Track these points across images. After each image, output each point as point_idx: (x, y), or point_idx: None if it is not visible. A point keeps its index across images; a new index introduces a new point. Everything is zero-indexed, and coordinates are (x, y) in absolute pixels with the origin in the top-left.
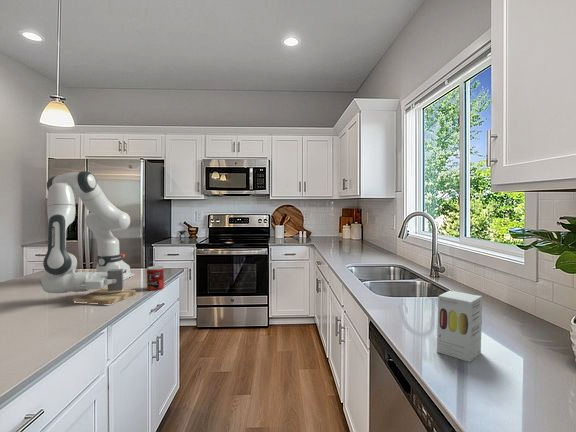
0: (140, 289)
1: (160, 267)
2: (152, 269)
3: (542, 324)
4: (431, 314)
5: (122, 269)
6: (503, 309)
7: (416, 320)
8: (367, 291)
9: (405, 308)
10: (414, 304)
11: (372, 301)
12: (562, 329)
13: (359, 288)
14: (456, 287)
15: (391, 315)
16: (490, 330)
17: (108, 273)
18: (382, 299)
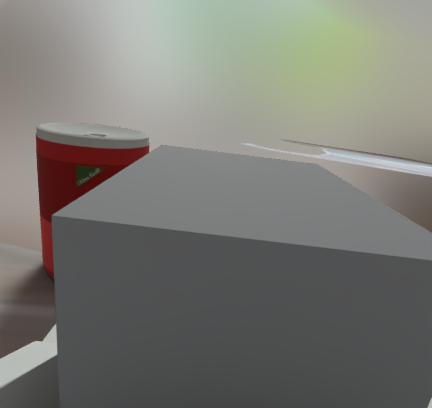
0: (30, 319)
1: (97, 130)
2: (142, 142)
3: (398, 157)
4: (385, 162)
5: (223, 153)
6: (362, 152)
7: (408, 168)
8: (295, 152)
9: (367, 161)
10: (351, 157)
11: (341, 160)
12: (407, 158)
13: (279, 150)
14: (289, 141)
15: (396, 168)
16: (423, 165)
17: (430, 319)
18: (332, 157)
